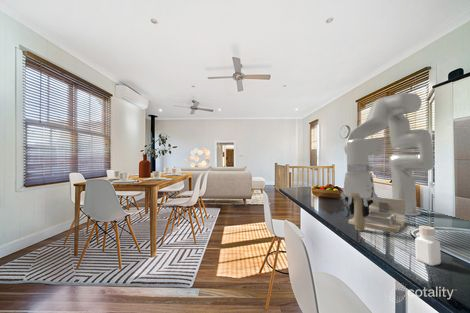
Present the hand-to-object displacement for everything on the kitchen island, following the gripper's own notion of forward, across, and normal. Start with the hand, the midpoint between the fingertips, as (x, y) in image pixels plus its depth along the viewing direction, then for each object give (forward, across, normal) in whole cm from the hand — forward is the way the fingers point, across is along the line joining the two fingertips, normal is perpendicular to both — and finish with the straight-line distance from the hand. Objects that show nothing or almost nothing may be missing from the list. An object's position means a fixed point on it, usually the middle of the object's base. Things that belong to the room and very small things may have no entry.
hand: (359, 214), depth 84 cm
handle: (+6, 0, 0) cm, 6 cm away
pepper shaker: (+6, -22, +15) cm, 27 cm away
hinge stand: (+6, -2, -14) cm, 15 cm away
